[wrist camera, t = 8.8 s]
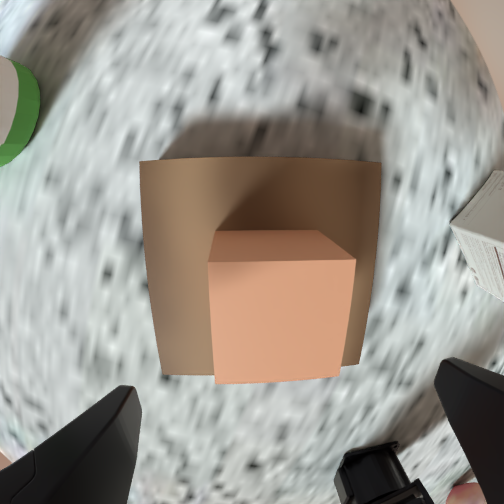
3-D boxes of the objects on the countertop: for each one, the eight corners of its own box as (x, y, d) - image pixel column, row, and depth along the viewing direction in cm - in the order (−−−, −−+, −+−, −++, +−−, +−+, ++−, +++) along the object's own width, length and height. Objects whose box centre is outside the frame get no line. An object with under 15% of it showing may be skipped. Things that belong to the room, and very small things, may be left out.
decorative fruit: (476, 475, 34) (495, 505, 24) (443, 499, 35) (460, 531, 25) (470, 467, 32) (493, 502, 22) (433, 494, 33) (452, 531, 23)
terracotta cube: (317, 230, 15) (356, 259, 10) (310, 320, 16) (339, 375, 11) (215, 230, 15) (207, 262, 10) (218, 323, 16) (215, 384, 11)
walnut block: (352, 162, 18) (381, 162, 14) (339, 333, 21) (358, 364, 17) (158, 162, 17) (139, 161, 13) (172, 340, 20) (162, 374, 17)
